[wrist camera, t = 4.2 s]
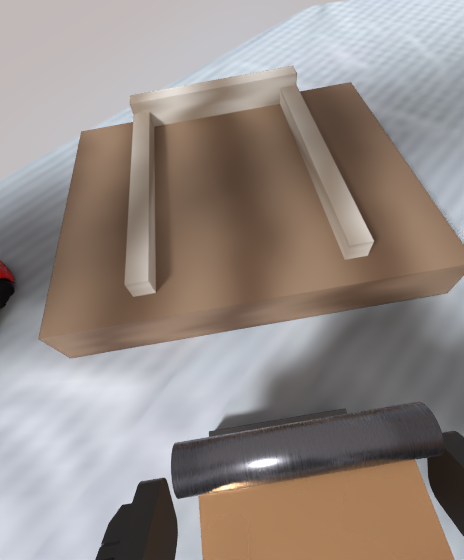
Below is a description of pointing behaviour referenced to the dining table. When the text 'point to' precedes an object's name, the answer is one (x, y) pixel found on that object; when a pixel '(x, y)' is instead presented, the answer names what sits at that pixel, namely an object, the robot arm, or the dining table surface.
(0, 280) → the race car
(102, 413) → the dining table surface
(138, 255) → the dock
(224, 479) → the block with metal roller
